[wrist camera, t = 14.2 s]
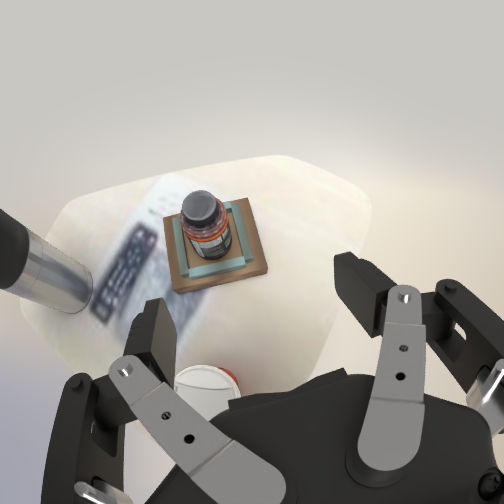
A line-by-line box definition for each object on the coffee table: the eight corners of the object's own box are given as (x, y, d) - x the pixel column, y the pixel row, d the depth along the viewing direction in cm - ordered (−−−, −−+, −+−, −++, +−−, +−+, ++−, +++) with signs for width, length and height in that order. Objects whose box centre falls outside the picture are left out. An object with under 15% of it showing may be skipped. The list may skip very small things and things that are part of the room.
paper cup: (186, 398, 36) (154, 419, 23) (202, 353, 38) (177, 353, 25) (235, 417, 35) (227, 448, 22) (253, 371, 37) (253, 381, 24)
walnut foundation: (178, 294, 41) (170, 287, 37) (167, 225, 45) (160, 213, 41) (266, 273, 43) (268, 264, 38) (248, 206, 47) (247, 192, 42)
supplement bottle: (193, 225, 42) (175, 184, 32) (231, 223, 42) (225, 180, 32) (192, 262, 40) (171, 229, 29) (232, 260, 40) (225, 225, 29)
